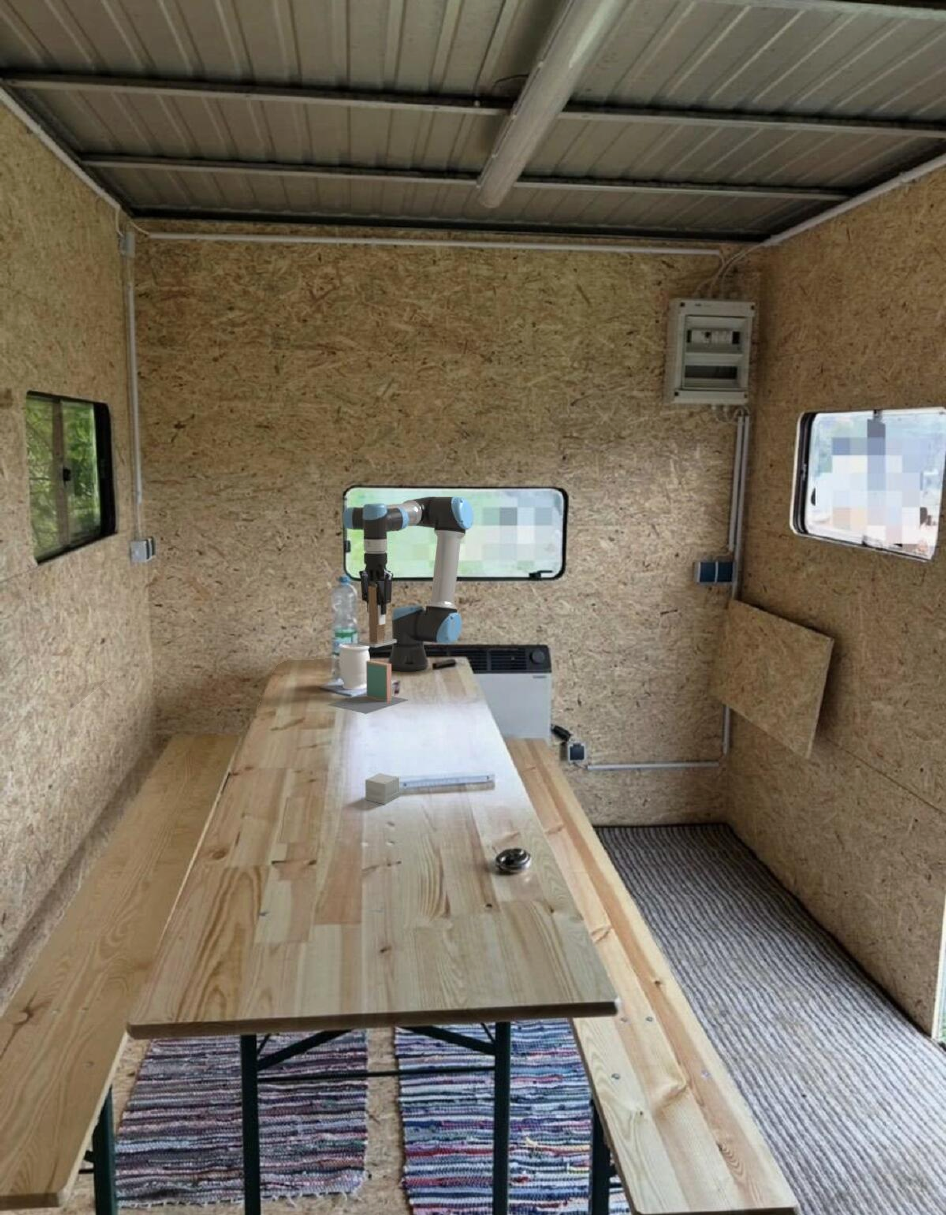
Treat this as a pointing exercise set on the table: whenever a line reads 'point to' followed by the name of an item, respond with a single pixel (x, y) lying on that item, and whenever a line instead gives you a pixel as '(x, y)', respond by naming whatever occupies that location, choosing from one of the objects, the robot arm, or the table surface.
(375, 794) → the small box
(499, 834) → the table surface
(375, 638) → the tall wooden post
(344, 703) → the slate rubber mat
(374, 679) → the terracotta tile
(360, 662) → the jar
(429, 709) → the table surface
